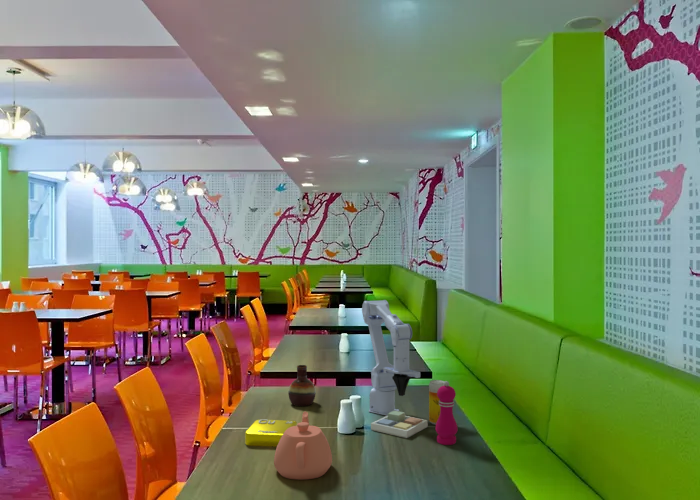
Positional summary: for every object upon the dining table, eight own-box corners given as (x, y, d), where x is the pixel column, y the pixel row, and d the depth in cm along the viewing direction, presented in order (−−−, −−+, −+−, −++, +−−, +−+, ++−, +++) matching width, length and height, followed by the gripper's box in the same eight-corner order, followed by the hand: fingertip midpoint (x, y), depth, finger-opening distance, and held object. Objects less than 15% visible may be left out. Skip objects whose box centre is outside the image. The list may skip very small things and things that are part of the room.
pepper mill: (457, 446, 182) (457, 384, 182) (434, 444, 183) (434, 383, 183) (457, 438, 189) (457, 379, 189) (435, 437, 190) (435, 378, 190)
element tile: (243, 446, 184) (243, 431, 183) (256, 431, 198) (256, 417, 198) (288, 448, 182) (288, 433, 182) (298, 432, 197) (298, 419, 197)
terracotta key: (404, 426, 200) (404, 420, 200) (410, 423, 204) (410, 417, 204) (415, 429, 197) (415, 422, 197) (421, 425, 201) (421, 419, 201)
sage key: (387, 419, 204) (387, 413, 204) (394, 416, 208) (394, 410, 208) (398, 421, 201) (398, 415, 201) (404, 418, 205) (404, 412, 205)
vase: (284, 401, 234) (284, 364, 234) (309, 398, 238) (309, 362, 238) (293, 408, 224) (293, 370, 224) (319, 405, 228) (319, 367, 228)
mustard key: (394, 431, 194) (393, 425, 194) (400, 428, 198) (400, 422, 198) (405, 434, 192) (405, 428, 192) (411, 430, 195) (411, 424, 195)
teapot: (279, 452, 177) (279, 409, 177) (333, 452, 177) (333, 409, 177) (268, 486, 152) (268, 437, 152) (331, 486, 152) (331, 436, 152)
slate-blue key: (376, 428, 198) (376, 421, 198) (383, 424, 202) (383, 418, 202) (387, 430, 196) (387, 424, 196) (394, 427, 199) (394, 420, 199)
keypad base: (371, 430, 198) (371, 423, 198) (392, 419, 210) (392, 413, 210) (406, 438, 190) (406, 431, 190) (427, 426, 201) (427, 420, 201)
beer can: (440, 426, 202) (440, 384, 201) (426, 423, 205) (425, 382, 205) (448, 422, 206) (448, 381, 206) (434, 419, 210) (434, 378, 210)
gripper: (378, 357, 206) (378, 394, 206) (413, 361, 197) (413, 400, 197) (389, 354, 212) (389, 390, 212) (423, 358, 203) (423, 396, 203)
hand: (401, 395), depth 205 cm, fingers closed
